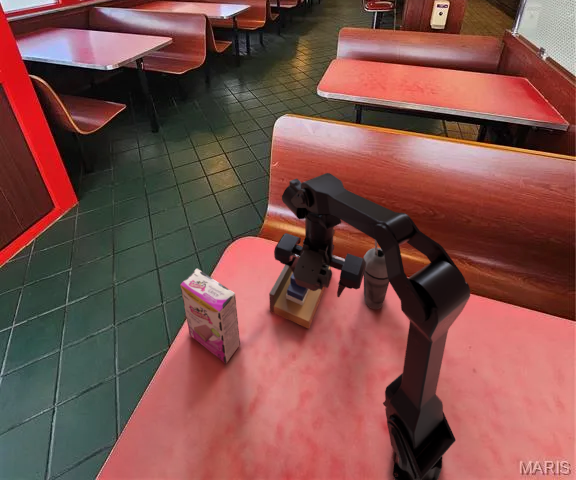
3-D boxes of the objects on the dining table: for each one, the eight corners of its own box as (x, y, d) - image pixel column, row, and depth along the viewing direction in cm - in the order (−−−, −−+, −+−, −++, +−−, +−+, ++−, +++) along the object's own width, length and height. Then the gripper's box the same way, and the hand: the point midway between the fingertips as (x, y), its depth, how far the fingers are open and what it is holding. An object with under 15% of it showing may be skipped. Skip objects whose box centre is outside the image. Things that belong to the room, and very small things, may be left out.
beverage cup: (390, 317, 77) (400, 253, 70) (358, 311, 78) (364, 248, 71) (387, 289, 84) (396, 228, 76) (358, 284, 85) (364, 224, 78)
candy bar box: (188, 337, 73) (178, 284, 67) (204, 318, 77) (196, 266, 71) (225, 367, 68) (218, 312, 62) (241, 345, 72) (236, 291, 66)
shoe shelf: (330, 273, 88) (331, 256, 86) (308, 329, 75) (309, 310, 72) (296, 260, 92) (296, 244, 90) (269, 311, 79) (269, 293, 76)
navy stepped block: (301, 266, 87) (302, 251, 85) (317, 272, 86) (318, 257, 84) (286, 298, 79) (285, 282, 77) (302, 305, 77) (303, 290, 75)
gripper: (259, 245, 64) (263, 303, 69) (354, 279, 56) (350, 341, 62) (284, 209, 73) (286, 263, 79) (368, 235, 66) (364, 291, 71)
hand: (318, 287), depth 72 cm, fingers open, 9 cm apart
